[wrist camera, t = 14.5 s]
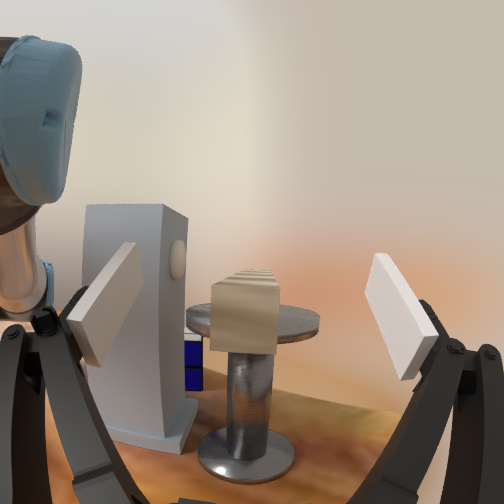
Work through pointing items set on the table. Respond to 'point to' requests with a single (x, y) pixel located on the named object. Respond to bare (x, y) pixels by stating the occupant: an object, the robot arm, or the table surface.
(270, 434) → the metal pedestal stand
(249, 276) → the beech bar
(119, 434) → the stand
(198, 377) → the puzzle cube
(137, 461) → the table surface
